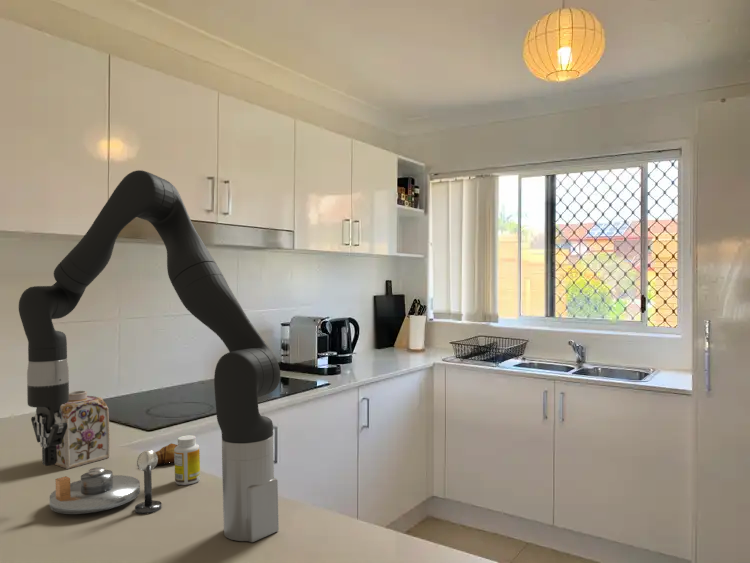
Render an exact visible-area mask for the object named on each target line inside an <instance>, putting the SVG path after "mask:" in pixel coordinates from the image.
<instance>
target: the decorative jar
mask: <svg viewBox="0 0 750 563" xmlns="http://www.w3.org/2000/svg"><path fill="white" fill-rule="evenodd" d="M87 394H88V392H87V390H73V391H69V401H68V402H67V403H65V404H62V405H61V407H60V408H61V413H62V421H61V422H62V423H65V422H66V423H67V429H66V432H65V435H64V438H63V440H62V443H61V444H59V445H58V446H56V459H57V462H56V464H54V465H55V466H57V467H61V468H63V469H66V470H70V469H72V468H77V467H80V466H84V465H87V464H91V463H94V462H95V463H96V462H98V461H99V462H100V461H103V460H105V459H108V458H110V451H111V450H110V447H111V446H110V440H111V439H110V417H109V416H110V413H109V407H108V405H107V402H105V401H104V399H103V397H101V396H95V395H93V396H92V395H87Z"/></svg>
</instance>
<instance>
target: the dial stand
mask: <svg viewBox="0 0 750 563" xmlns="http://www.w3.org/2000/svg"><path fill="white" fill-rule="evenodd" d="M155 452H156V451H153V450H148V449H147V450H144V451H142V452H141V453H140V454H139V455H138V457H137V458H136V466H137V468H138V470H139V471H142V472H143V482H144V484H143V486H144V487H143V488H144V492H143V494H144V499H143V500H144V501H143V502H140V503H138V504H136V505H135V507H134V512H135V513H136V514H138V515H148V514H147V513H149V514H153V512H154V513H157V512H159V511H160V510H161V509H162V508H163V506H162V502H161V501H160V500H153V492H152V491H153V490H152V489H153V488H152V470H154V468H156V466H158V465H157V462H158V456H157V454H156V453H155Z"/></svg>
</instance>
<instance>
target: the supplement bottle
mask: <svg viewBox="0 0 750 563" xmlns="http://www.w3.org/2000/svg"><path fill="white" fill-rule="evenodd" d="M177 445H178V446H176V447H175V449H174V461H175V463H174V482H175V484H177V485H180V486H188V485H193V484H196V483H197V482H199V481H200V479H201V460H200V459H201V458H200V457H201V455H200V454H201V453H200V445H199V444H198V443H197V440H196V436H195V435H189V434H187V435H183V436H179V437H178V438H177Z"/></svg>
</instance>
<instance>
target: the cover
mask: <svg viewBox="0 0 750 563" xmlns="http://www.w3.org/2000/svg"><path fill="white" fill-rule="evenodd" d="M113 473H114V472H113V470H110V469H105V467H102V466H101V467H98V466H97V467H93V468H90V469H88V471H87V472H85V473H82V475H80V480H81V494H84V495H96V494H101V493H105V492H107V491H110V490H111V489H112V488H113Z"/></svg>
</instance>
